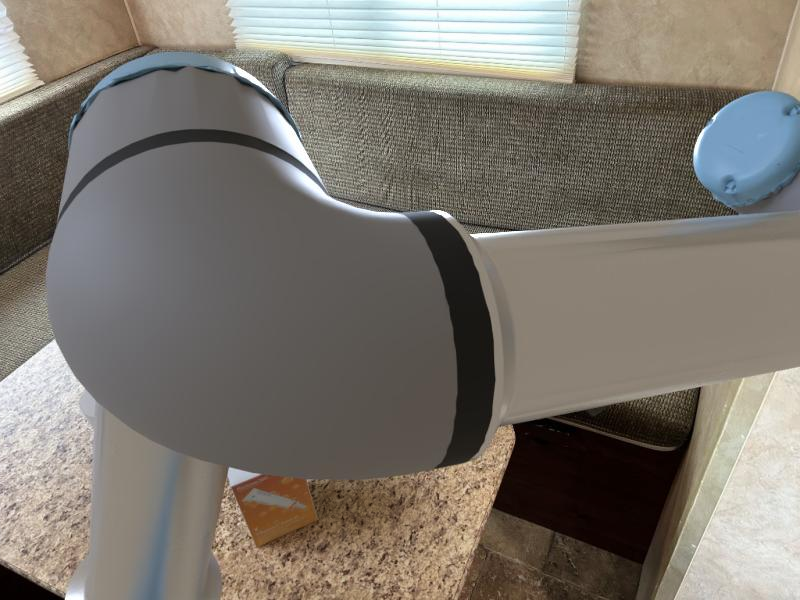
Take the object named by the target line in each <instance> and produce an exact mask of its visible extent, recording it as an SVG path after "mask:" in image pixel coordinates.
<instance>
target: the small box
mask: <svg viewBox="0 0 800 600" xmlns="http://www.w3.org/2000/svg"><path fill="white" fill-rule="evenodd" d="M227 480H228V482H229V486H230V489H231V491H232V494H233V497H234V499H235V501H236V504H237V506H238V508H239V511H240V513H241V515H242V518H243V520H244V521H245V522H244V523H245V525H246V527H247V529H248V532H249V533H250V536H251V539H252V541H253V543H254V545H255V547H256V548H260V547H262V546H264V545H265V544H268V543H269V542H272V541H274V540H277V539H278V538H280V537H283V536H286V535H287V534H290V533H291V532H294V531H296V530H298V529H301V528H303V527H306V526H308V525H310V524H312V523H315V522H317V521H319V520H318V519H319V518H318V515H317V511H316V507H315V503H314V501H313V500H314V499H313V497H312V493H311V490H310V486H309V483H308V480H307V479H299V478H290V477H282V476H273V475H265V474H256V473H250V472H246V471H242V470H238V469H234V468H230V467H229V470H228V475H227Z"/></svg>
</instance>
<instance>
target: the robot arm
mask: <svg viewBox="0 0 800 600" xmlns="http://www.w3.org/2000/svg"><path fill="white" fill-rule="evenodd" d="M694 145H695V146H694V150H693V156H692V157H693V160H692V161H693V162H692V163H693V169H694V172H695V173H694V174H695V175H696V177H697V179H698V181H699V182H700V183H701V185H703V187H704V188H706V190H708V191H709V192H710V193H711V194H712V197H713V198H714V200H715V201H717V202H720V203H722V204H723V205H724V206H726V207H728V208H730V209H732V210H733V211H735V212H736V213H738V214H734V215H733V214H732V215H731V214H730V215H718V216H705V217H693V218H680V219H678V218H677V219H666V220H651V221H639V222H625V223H624V222H623V223H611V224H610V223H609V224H599V225H597V224H596V225H586V226H585V225H584V226H572V227H571V226H570V227H569V226H568V227H557V228H544V229H543V228H542V229H531V230H517V231H503V232H493V233H492V232H490V233H488V232H487V233H476V234H475V233H474V234H471V233H470V232H469V231H468V230H467V229H466V228H465V227H464V225H462V224H461V223H460V222H459V221H458V220H457V219H456V218H455V217H453V216H452V215H451V214H449V213H447V212H445V211H442V210H421V211H406V212H405V211H403V212H387V211H386V212H383V211H375V210H369V209H366V208H365V209H364V208H360V207H356V206H353V205H350V204H347V203H345V202H342V201H339V200H337V199H335V198H332V197H331V195H330V192H328V190H327V188H326V186H325V184H324V182H323V180H322V178H321V177H320V175H319V173H318V171H317V169H316V168H315V166H314V164H313V162H312V160H311V159H310V157H309V155H308V153H307V151H306V149H305V148H304V142H303V138H302V135H301V133H300V130H299V128H298V126H297V123H296V121H295V120H294V118H293V116H292V115H291V114H290V112H289V111H288V109H287V108H286V107H285V105H284V104H283V103H282V102H281V101H280V99H278V98H277V97H276V95H274V94H273V93H272V92H270V91H269V89H268V88H266V87H265V86H264V85H263V84H262V83H261V82H260V81H259V80H258V79H256V78H255V77H254V76H253V75H251V74H250V73H248V72H247V71H245V70H244V69H242V68H240V67H238V66H237V65H235V64H232V63H230V62H228V61H226V60H223V59H220V58H217V57H214V56H212V55H211V56H210V55H208V54H207V55H206V54H204V53H203V54H202V53H197V52H187V51H166V52H157V53H153V54H148V55H145V56H141V57H138V58H136V59H133V60H130V61H127V62H126V63H123V64H122V65H121V66H119V67H117V68H115V69H114V70H112V71H111V72H110V73H109V74H107V75H106V76H104V78H102V79H101V80H100V81H99V82H98V83H97V84H96V86H94V88H93V89H92V91H91V92H90V93H89V94H88V96H87V97H86V98H85V100H84V101H83V102H82V103H81V104H80V108H79V109H78V111H77V113H76V114H75V115H74V116H73V119H72V122H71V123H70V127H69V133H68V146H67V147H68V158H67V163H66V164H67V165H66V169H65V175H64V181H63V185H62V192H61V198H60V204H59V208H58V215H57V218H56V219H57V220H56V225H55V230H54V234H53V237H52V240H51V244H50V247H49V251H48V256H47V262H46V268H45V293H46V294H45V297H46V311H47V314H48V317H49V322H50V326H51V330H52V333H53V337H54V339H55V343H56V344H57V347H58V349H59V350H60V352H61V354H62V356H63V358H64V360H65V362H66V363H67V365H68V368H69V369H70V371H71V372H72V374H73V375H74V377H75V378H76V380H77V381H78V382H79V383H80V384H81V385H82V387H83V388H84V390H85V389H86V390H87V391H88V392H89V393H90V395H91V396H92V397H93V398H94V399H95V408H94V430H93V435H92V436H93V438H92V441H93V442H92V460H91V461H92V463H91V484H90V485H91V489H90V510H89V511H90V513H89V536H88V537H89V538H88V553H87V554H86V555H85V557H84V558H83V559H82V560H81V561H80V562H79V564H78V566H77V567H76V569H75V570H74V572H73V574H72V575H71V577H70V579H69V581H68V585H67V587H66V591H65V596H64V600H221V598H222V593H223V577H222V571H221V568H220V564H219V561H218V560H217V558H216V555H215V554H214V553H213V545H214V541H215V536H216V531H217V527H218V522H219V518H220V513H221V508H222V502H223V499H224V494H225V488H226V484H227V480H228V476H227V475H228V470H229V467H230V468H234V469H238V470H242V471H246V472H250V473H256V474H265V475H273V476H282V477H290V478H299V479H306V480H307V481H308V480H309V481H311V480H313V481H317V480H319V481H321V480H322V481H326V480H328V481H329V480H330V481H367V480H374V479H385V478H392V477H393V478H394V477H401V476H402V477H403V476H408V475H414V474H418V473H424V472H428V471H434V470H438V469H443V468H447V467H452V466H458V465H462V464H465V463H469V462H473V461H476V460H477V459H478V458H480V457H482V456H483V455H484V453H485V452H486V451H487V449H488V448H489V446H490V444H491V443H492V441H493V439H494V437H495V435H496V433H497V431H498V430H499V428H502V427H506V426H511V425H516V424H521V423H526V422H531V421H535V420H541V419H545V418H551V417H555V416H560V415H561V416H562V415H567V414H571V413H575V412H581V411H585V412H586V413H588V414H589V415H590V416H591V417H596V416H598V415H599V414H600V413H601V412H602V411H604V410H605V409H606V408H607V407H609V406H611V405H615V404H616V405H617V404H620V403H621V404H622V403H626V402H631V401H636V400H641V399H646V398H651V397H657V396H661V395H666V394H671V393H676V392H680V391H685V390H691V389H696V388H701V387H706V386H710V385H711V386H712V385H715V384H721V383H725V382H730V381H731V382H732V381H735V380H736V381H737V380H740V379H746V378H750V377H757V376H762V375H765V374H771V373H776V372H780V371H781V372H782V371H786V370H790V369H796V368H800V100H798V99H797V98H796V97H795V96H793V95H791V94H789V93H787V92H784V91H778V90H762V91H755V92H751V93H748V94H746V95H743V96H741V97H738V98H736V99H734V100H733V101H731V102H729V103H728V104H726V105H725V106H723V107H722V108H721V109H720V110H718V111H717V113H715V114H714V115H713V117H712V118H711V120H709V121H708V122H707V124H706V126H705V127H704V128H703V129H702V131H701V132H700V133H699V135H698V138H697V140H696V143H695V144H694Z"/></svg>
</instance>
